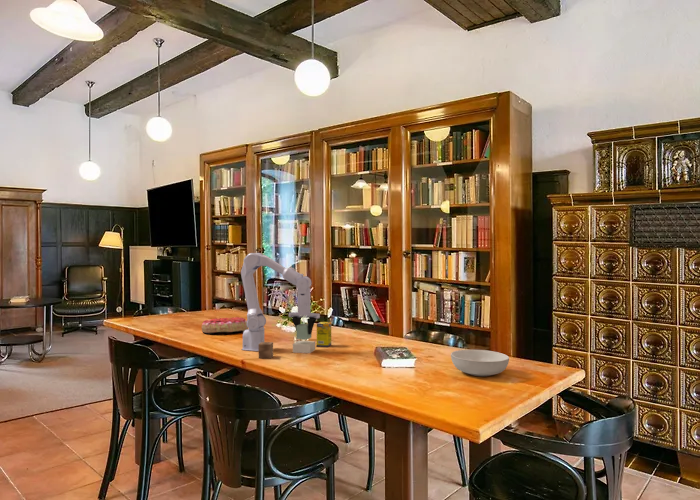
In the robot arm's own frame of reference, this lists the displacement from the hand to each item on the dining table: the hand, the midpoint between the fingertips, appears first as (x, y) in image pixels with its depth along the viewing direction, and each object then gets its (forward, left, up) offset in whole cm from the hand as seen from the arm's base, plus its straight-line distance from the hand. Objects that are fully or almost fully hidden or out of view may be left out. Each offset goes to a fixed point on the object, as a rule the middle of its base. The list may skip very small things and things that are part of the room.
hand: (304, 333), depth 225 cm
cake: (-63, +33, -8) cm, 72 cm away
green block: (0, 0, -2) cm, 2 cm away
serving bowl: (+78, -15, -8) cm, 80 cm away
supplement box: (+4, +14, -8) cm, 17 cm away
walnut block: (-10, -17, -8) cm, 21 cm away
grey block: (0, 0, -8) cm, 8 cm away
